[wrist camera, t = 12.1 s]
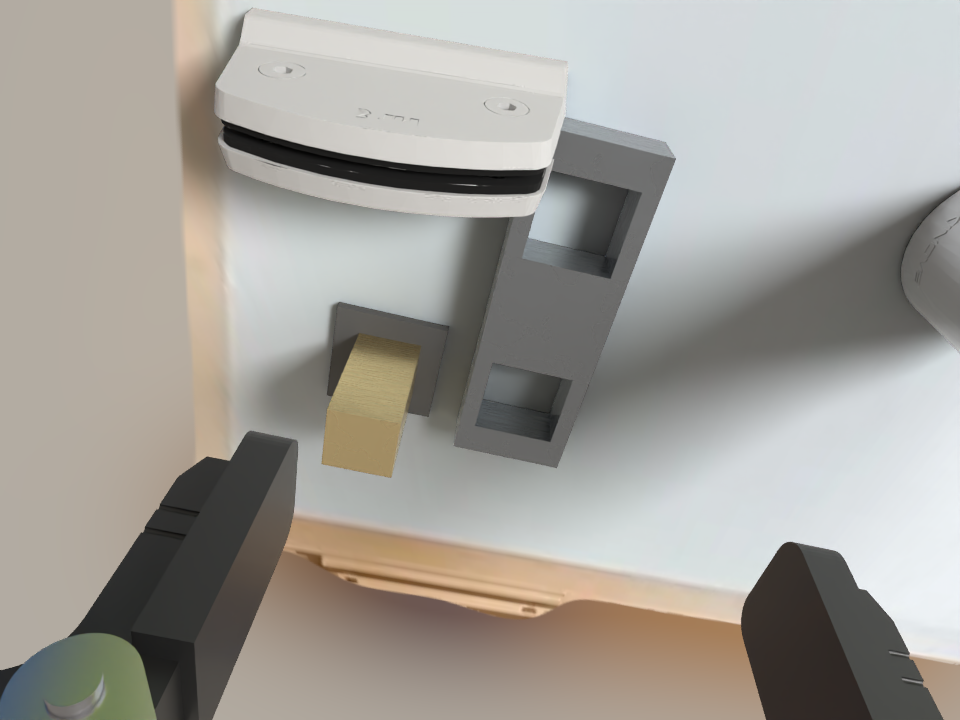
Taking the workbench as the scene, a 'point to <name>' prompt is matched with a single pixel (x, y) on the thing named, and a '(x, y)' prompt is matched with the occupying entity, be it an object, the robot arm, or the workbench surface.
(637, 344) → the workbench surface
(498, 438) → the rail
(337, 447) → the tan wooden beam
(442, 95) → the white arched device
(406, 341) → the pad
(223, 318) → the workbench surface
